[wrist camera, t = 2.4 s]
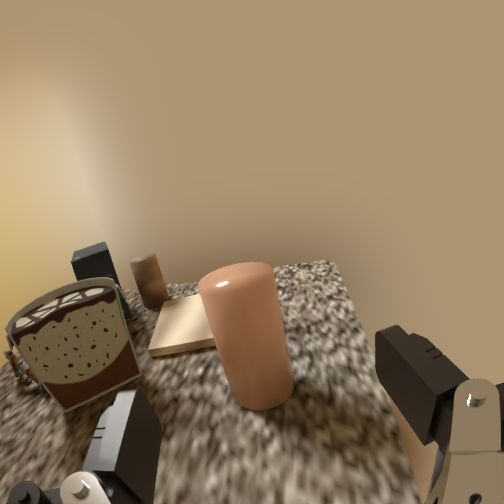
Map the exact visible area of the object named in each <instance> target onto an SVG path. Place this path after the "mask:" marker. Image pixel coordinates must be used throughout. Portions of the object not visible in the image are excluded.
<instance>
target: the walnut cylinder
mask: <svg viewBox="0 0 504 504" xmlns="http://www.w3.org/2000/svg"><path fill="white" fill-rule="evenodd" d="M130 265H131V269H132V271H133V274H134V277H135V281H136V283H137V286H138V289H139V292H140V295H141V298H142V300H143V303H144V306H145V307H146V308H155V307H158V306H161V305H163V303H164V301H168V300H169V296H168V293H167V290H166V286H165V283H164V280H163V277H162V274H161V271H160V267H159V264H158V261H157V258H156V254H155V253H149V254H144V255H141V256H138V257H136V258H134V259H132V260H131V261H130Z"/></svg>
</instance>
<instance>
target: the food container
mask: <svg viewBox="0 0 504 504" xmlns="http://www.w3.org/2000/svg"><path fill="white" fill-rule="evenodd" d="M119 297H122V298H124V299H126V297H125V295H124V293H123V292H122V290H121V288H120V287H119V286H118V285H117V284H115V281H114V280H113V279H111V278H105V277H99V278H90V279H85V280H81V281H77V282H74V283H71V284H67V285H65V286H62V287H60V288H57V289H55V290H52V291H50V292H48V293H46V294H44V295H42V296H40V297H38V298H36V299H35V300H33V301H32V302H30V303H28V304H27V305H25V306H24V307H23V308H21V309H20V310H19V311H18V312H17V313H15V314H14V315H13V316H12V317H11V319H10V320H9V321H8V323H7V324H6V326H5V329H6V332H7V334H6V338H7V341H8V344H9V347H10V350H11V351H12V349H13V346H14V345H15V347H16V348H17V350H18V351H19V353H20V354H21V356H22V357H23V359H24V360H25V362H26V363H27V365H28V366H29V368H30V369H31V370H32V372H33V373H34V375H35V376H36V377H37V379H38V380H39V381H40V383H41V384H42V385H43V387H44V388H45V389H46V391H47V392H48V393H49V394H50V396H51V397H52V398H53V399H54V401H55V402H56V403H57V404H58V405H59V407H60V408H61V409H62V410H63V411H64V413H67V412H69V411H71V410H73V409H75V408H77V407H79V406H81V405H84V404H86V403H88V402H90V401H92V400H94V399H96V398H98V397H100V396H102V395H104V394H106V393H108V392H110V391H112V390H114V389H116V388H118V387H120V386H122V385H124V384H126V383H128V382H130V381H132V380H134V379H136V378H138V377H140V376H142V375H143V373H142V370H141V368H140V365H139V362H138V359H137V356H136V353H135V350H134V347H133V343H132V340H131V337H130V334H129V331H128V327H127V324H126V320H125V317H124V313H123V310H122V306H121V302H120V299H119Z"/></svg>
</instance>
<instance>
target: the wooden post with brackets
mask: <svg viewBox="0 0 504 504" xmlns="http://www.w3.org/2000/svg"><path fill="white" fill-rule="evenodd" d="M4 354H5V356H6V358H7V359H8V360H9V361H10V363H11V366H12V371H13V373H14V374H15V376H16V377H20V379H21V381H22V380H23V381H24V382H25V383H26V384H27V383H31V382H32V381H31V379H30V377H31V378H32V379H33V380H34V381H35V382H36V383H37V384H38V385H39V386H40V388H41V391H42V392H43V393H44V391H45V390H46V389H45V388H44V387H43V385H42V384H41V383H40V381H39V380H38V379H37V377H36V376H35V375H34V373H33V372H32V370H31V369H30V368H29V366H28V365H27V364H26V363H25V362H23V360H22V359H21V360H20V359H18V358H17V357H16V355H15V354H14V353H13V352H12V351H11V350H10V349H8V350H5V351H4ZM17 367H18V368H17ZM19 370H21V371H20V372H19Z"/></svg>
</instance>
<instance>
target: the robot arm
mask: <svg viewBox="0 0 504 504" xmlns="http://www.w3.org/2000/svg"><path fill="white" fill-rule="evenodd" d="M375 367H376V373H377V376H378V379H379V381H380V383H381V384H382V386H383V387H384V389H385V390H386V391H387V393H388V394H389V396H390V397H391V399H392V400H393V401H394V403H395V404H396V406H397V407H398V408H399V410H400V411H401V413H402V414H403V416H404V417H405V418H406V420H407V422H408V423H409V425H410V426H411V428H412V429H413V430H414V432H415V433H416V435H417V436H418V438H419V439H420V441H421V442H422V444H423V445H424V446H425V445H427V444H429V443H431V442H433V441H436V443H437V444H438V445H439V447H438V450H437V455H436V460H435V465H434V470H433V474H432V479H431V483H430V487H429V491H428V495H427V499H426V501H425V504H504V383H501V384H498V385H494V384H493V383H491V382H490V381H487V380H485V379H469V378H468V377H467V376H466V375H465V374H464V373H463V372H462V371H461V370H460V369H459V368H458V367H457V366H455V365H454V364H453V363H452V362H451V361H450V360H449V359H448V358H447V357H446V356H445V355H443V354H442V352H441V351H440V350H439V349H438V348H435V346H434V345H433V344H432V343H431V342H430V341H429V340H427V338H424V337H422V336H420V335H417V334H415V333H413V334H410V335H408V334H407V333H406V332H405V331H404V330H403V329H402V328H401V327H400V326H398V325H394V326H391V327H389V328H386V329H383V330H380V331H378V332H376V335H375ZM93 437H94V439H92V442H91V444H90V447H89V450H88V453H87V456H86V459H85V462H84V465H83V468H82V471H81V472H76V473H74V474H72V475H70V476H68V477H67V478H66V479H65V480H64V482H63V483H62V485H61V488H57V489H51V490H45V491H42V490H41V489H40V488H39V487H38V486H37V485H36V484H35V483H33V482H30V481H23V482H21V483H18V484H17V485H16V486H15V487H14V488H13V489H12V490H11V492H10V495H9V498H8V500H7V503H6V504H153V500H154V491H155V482H156V474H157V467H158V459H159V452H160V445H161V438H162V428H161V424H160V421H159V419H158V417H157V415H156V414H155V412H154V410H153V408H152V407H151V405H150V403H149V401H148V400H147V398H146V396H145V394H144V393H143V391H142V390H141V389H133V390H125V391H119V392H118V394H117V396H116V399H115V402H114V405H113V406H109V407H108V408H107V410H106V411H105V412H104V413H103V414H102V416H101V417H100V420H99V422H98V425H97V430H95V433H94V436H93Z"/></svg>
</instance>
